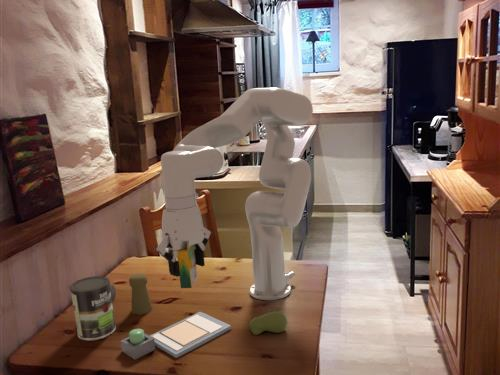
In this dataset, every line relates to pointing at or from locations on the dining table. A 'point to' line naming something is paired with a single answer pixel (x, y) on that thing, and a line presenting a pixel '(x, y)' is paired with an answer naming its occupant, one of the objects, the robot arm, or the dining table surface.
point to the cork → (140, 294)
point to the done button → (136, 336)
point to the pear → (269, 323)
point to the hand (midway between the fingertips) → (187, 269)
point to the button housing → (138, 347)
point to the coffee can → (93, 308)
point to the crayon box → (187, 266)
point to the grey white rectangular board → (189, 334)
